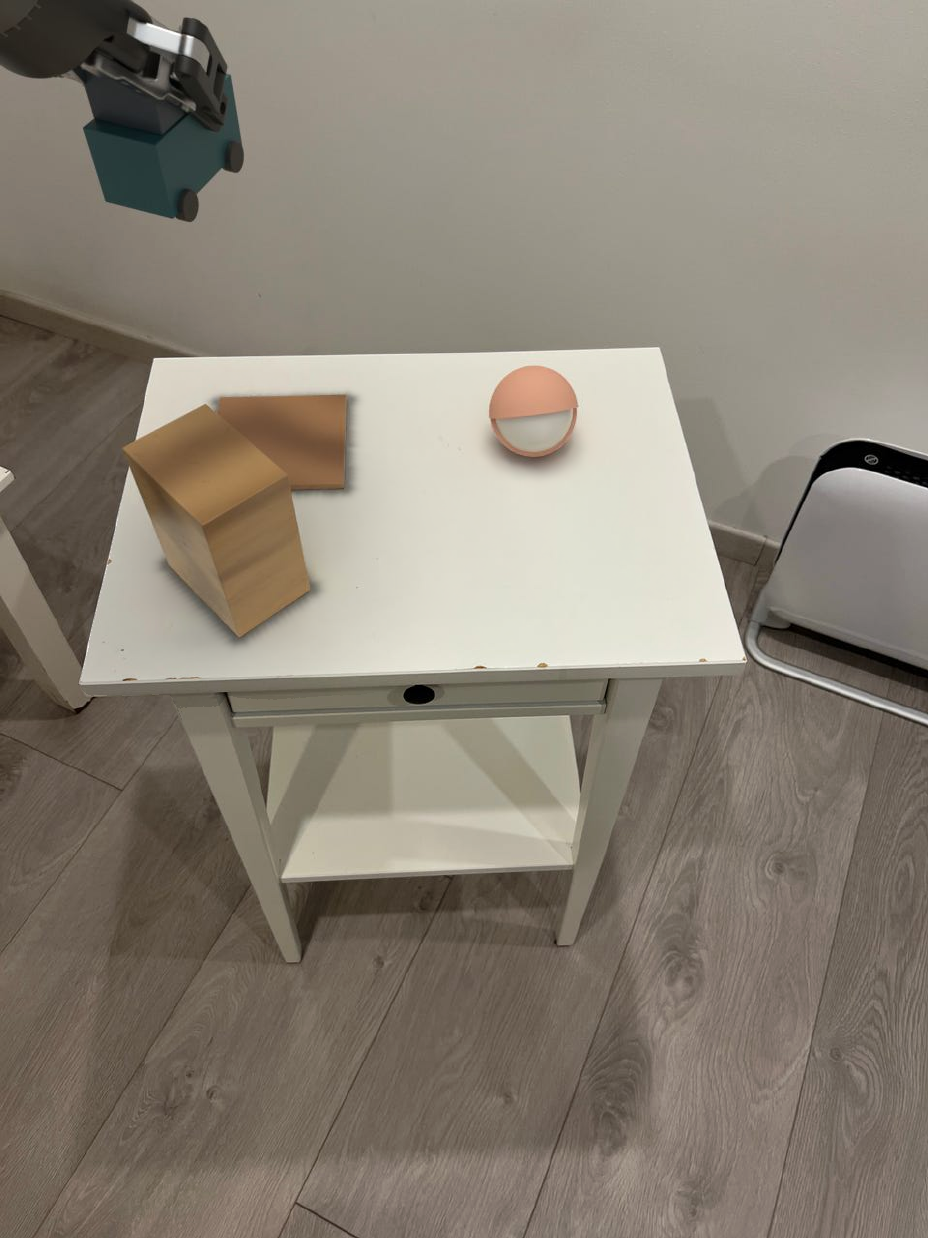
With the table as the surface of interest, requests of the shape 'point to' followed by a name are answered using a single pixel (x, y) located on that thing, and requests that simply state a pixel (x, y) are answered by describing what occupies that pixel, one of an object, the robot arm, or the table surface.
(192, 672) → the table surface
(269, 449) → the mat
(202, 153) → the toy van
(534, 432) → the toy ball
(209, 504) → the wooden block
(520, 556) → the table surface
